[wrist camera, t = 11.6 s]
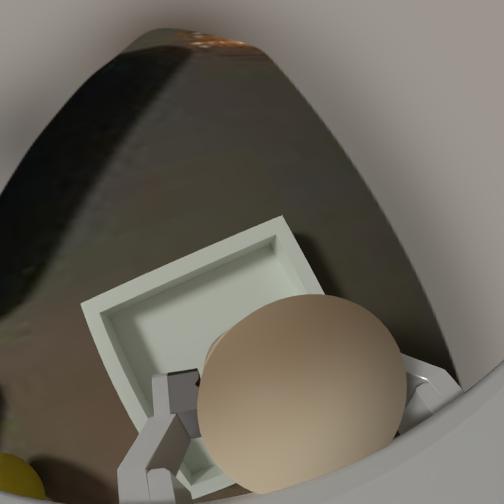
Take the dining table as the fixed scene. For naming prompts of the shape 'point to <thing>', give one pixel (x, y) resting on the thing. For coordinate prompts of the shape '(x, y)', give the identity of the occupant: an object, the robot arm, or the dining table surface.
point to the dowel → (300, 391)
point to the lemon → (19, 477)
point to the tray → (192, 321)
